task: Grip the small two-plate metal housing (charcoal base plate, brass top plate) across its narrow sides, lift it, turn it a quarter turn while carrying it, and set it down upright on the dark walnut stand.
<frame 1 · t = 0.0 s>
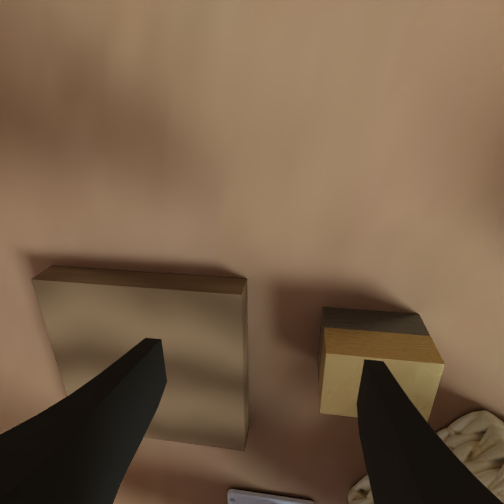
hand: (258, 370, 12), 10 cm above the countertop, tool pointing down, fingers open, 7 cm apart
walnut stand: (157, 353, 26), on the countertop
housing: (365, 337, 23), on the countertop
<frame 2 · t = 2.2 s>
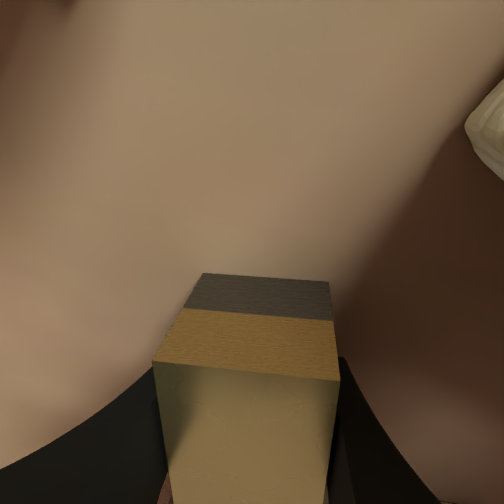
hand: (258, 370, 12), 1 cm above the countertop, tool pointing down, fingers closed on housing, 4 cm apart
housing: (263, 344, 13), on the countertop, touching gripper
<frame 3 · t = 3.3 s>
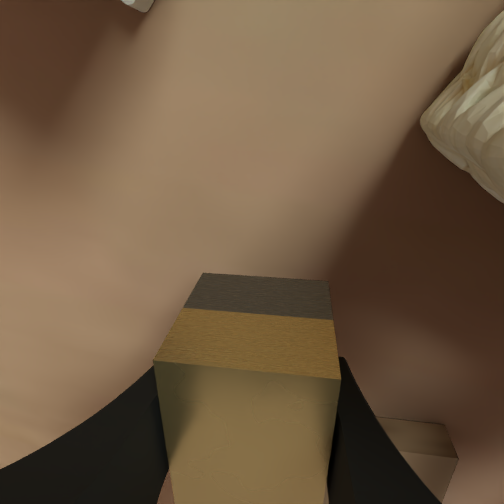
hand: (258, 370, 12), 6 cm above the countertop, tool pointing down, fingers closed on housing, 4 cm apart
walnut stand: (310, 484, 23), on the countertop
housing: (262, 343, 13), point 4 cm above the countertop, touching gripper
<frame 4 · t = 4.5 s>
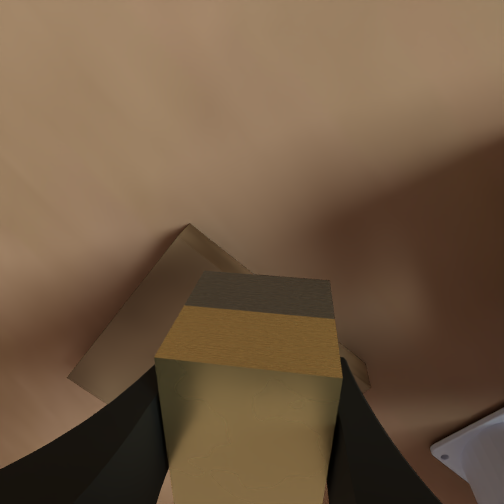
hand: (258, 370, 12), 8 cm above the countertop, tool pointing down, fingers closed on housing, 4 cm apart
walnut stand: (214, 360, 23), on the countertop
housing: (263, 342, 13), point 7 cm above the countertop, touching gripper
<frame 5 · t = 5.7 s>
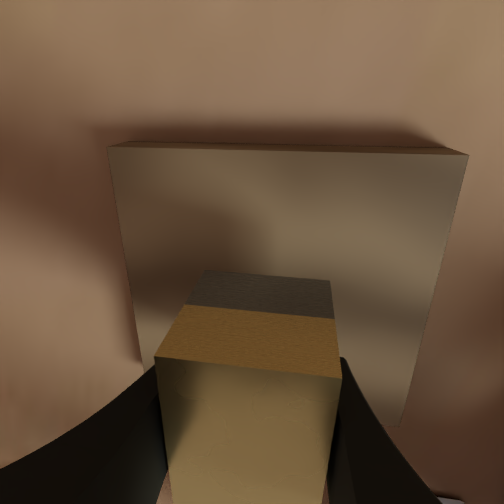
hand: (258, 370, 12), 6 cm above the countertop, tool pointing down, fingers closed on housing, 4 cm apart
walnut stand: (274, 283, 18), on the countertop
housing: (263, 342, 13), point 5 cm above the countertop, touching gripper
when the fingers open (5 cm above the countertop, at t = 6.8 s): housing drops 1 cm, resting on walnut stand.
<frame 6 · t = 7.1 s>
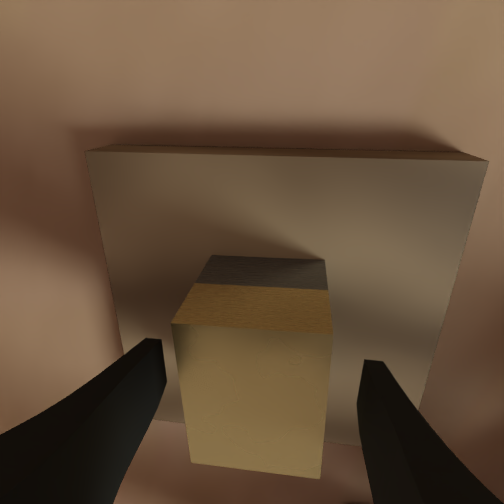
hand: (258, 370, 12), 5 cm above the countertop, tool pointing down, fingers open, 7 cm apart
walnut stand: (271, 297, 17), on the countertop
housing: (267, 320, 15), point 2 cm above the countertop, touching walnut stand
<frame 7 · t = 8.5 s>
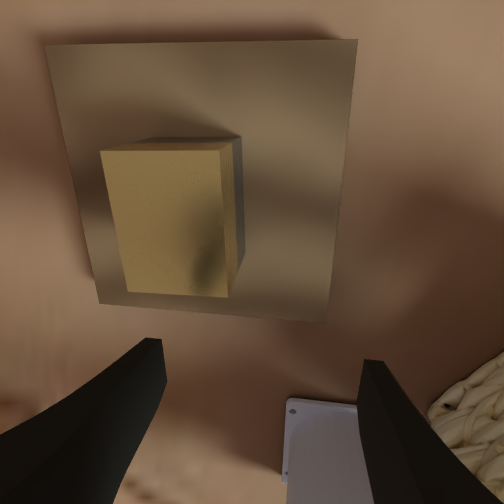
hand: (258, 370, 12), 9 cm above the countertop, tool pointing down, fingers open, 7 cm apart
walnut stand: (210, 190, 19), on the countertop
housing: (200, 198, 18), point 2 cm above the countertop, touching walnut stand
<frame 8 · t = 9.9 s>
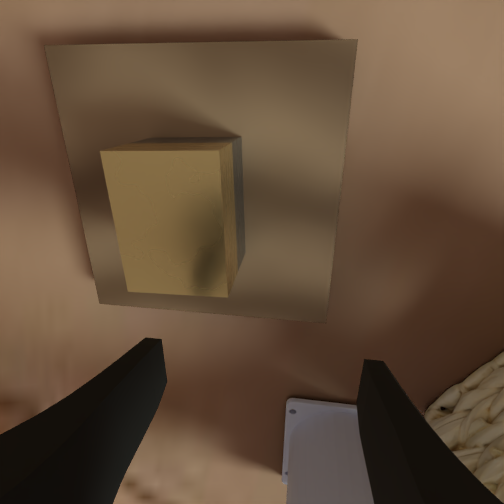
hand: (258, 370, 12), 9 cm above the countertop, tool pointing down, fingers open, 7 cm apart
walnut stand: (210, 190, 19), on the countertop
housing: (200, 198, 18), point 2 cm above the countertop, touching walnut stand
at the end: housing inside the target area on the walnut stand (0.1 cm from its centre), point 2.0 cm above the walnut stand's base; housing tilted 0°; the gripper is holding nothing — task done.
